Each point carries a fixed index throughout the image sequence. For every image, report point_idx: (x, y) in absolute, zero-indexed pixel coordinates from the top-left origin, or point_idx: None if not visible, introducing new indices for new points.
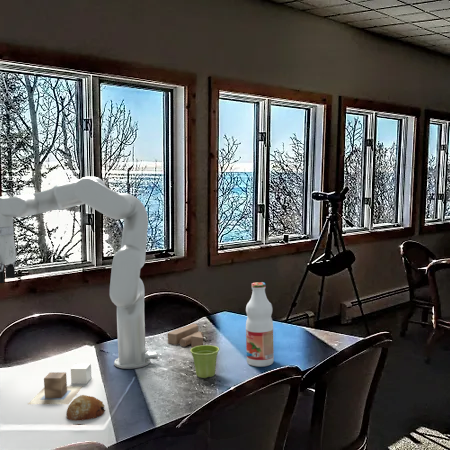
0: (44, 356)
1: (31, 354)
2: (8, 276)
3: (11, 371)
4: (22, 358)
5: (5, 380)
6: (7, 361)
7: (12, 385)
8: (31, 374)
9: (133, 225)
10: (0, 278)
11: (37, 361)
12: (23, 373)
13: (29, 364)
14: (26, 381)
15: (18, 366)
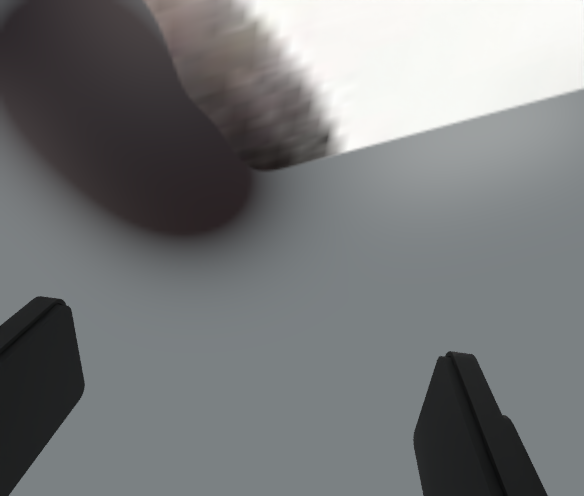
0: (219, 15)
1: (188, 86)
2: (69, 376)
3: (394, 112)
4: (237, 111)
5: (499, 107)
6: (268, 162)
7: (574, 60)
8: (458, 11)
9: None
10: (514, 437)
11: (285, 31)
12: (434, 53)
13: (320, 58)
14: (546, 9)
15: (337, 100)
